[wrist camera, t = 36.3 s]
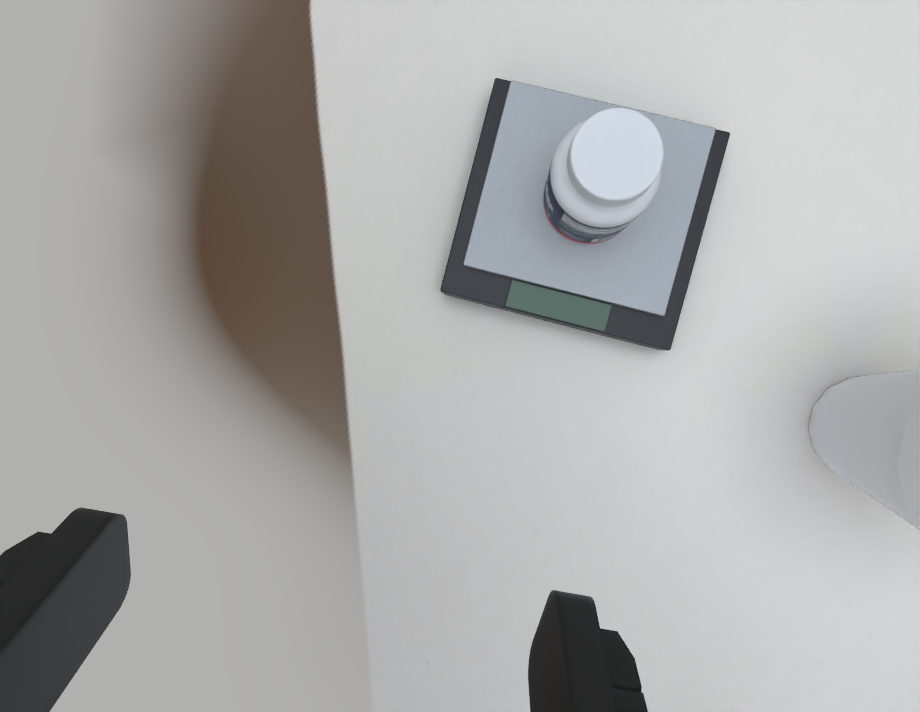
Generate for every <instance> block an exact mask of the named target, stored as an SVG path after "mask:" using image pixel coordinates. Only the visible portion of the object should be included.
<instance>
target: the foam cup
mask: <svg viewBox="0 0 920 712" xmlns="http://www.w3.org/2000/svg"><path fill="white" fill-rule="evenodd" d="M809 432H810V436H811V440H812V444H813V448H814V451H815V452H816V454H817V455H818V456H819V457H820V458H821V459H822V461H823V462H824V463H825V464H826V465H827V466H828V468H829V469H831V470H833V471H834V472H835V473H836V474H838V475H839V476H841V477H842V478H844V479H845V480H847V481H848V482H850V483H851V484H853V485H854V486H856V487H857V488H858V489H860V490H861V491H863V492H864V493H866V494H867V495H869V496H870V497H872V498H873V499H875V500H876V501H878V502H879V503H881V504H882V505H884V506H885V507H887V508H888V509H890V510H891V511H893V512H894V513H896V514H897V515H899V516H900V517H902V518H903V519H905V520H906V521H907V522H909V523H910V524H912V525H913V526H915V527H916V528H918V529H919V530H920V370H911V371H902V372H893V373H884V374H875V375H866V376H857V377H854V378H848V379H846V380H844V381H842V382H840V383H838V384H836V385H834V386H831V387H829V388H828V389H827V390H826V391H825V393H824V394H823V395H822V396H821V398H820V399H819V400H818V401H817V403H816V404H815V405H814V407H813V411H812V416H811V420H810V425H809Z"/></svg>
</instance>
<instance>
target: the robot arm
mask: <svg viewBox="0 0 920 712" xmlns="http://www.w3.org/2000/svg"><path fill="white" fill-rule="evenodd" d="M130 576H131V571H130V557H129V544H128V530H127V521H126V518H125V517H124V515H121V514H115V513H109V512H104V511H98V510H92V509H86V508H78V509H76V510H74V511H73V512H72V513H71V514H70V515H69V516H68V517H67V518H66V519H65V520H64V521H63V522H62V523H61V524H60V525H59V526H58V527H57V529H55V531H54V532H53V533H52V534H49V533H42V532H37V533H35V534H34V535H32V536H30V537H28V538H27V539H25V540H23V541H21V542H20V543H18V544H16V545H15V546H13V547H11V548H10V549H8V550H6V551H5V552H4V553H3V554H2V555H1V556H0V712H50V710H51V709H52V707H53V706H54V704H55V703H56V701H57V700H58V698H59V697H60V695H61V694H62V692H63V691H64V689H65V688H66V687H67V685H68V684H69V682H70V681H71V679H72V678H73V676H74V675H75V673H76V672H77V670H78V669H79V667H80V666H81V664H82V663H83V662H84V660H85V659H86V657H87V656H88V654H89V653H90V651H91V650H92V648H93V647H94V645H95V644H96V642H97V641H98V640H99V638H100V637H101V635H102V634H103V632H104V631H105V629H106V628H107V626H108V625H109V623H110V622H111V620H112V619H113V618H114V616H115V614H116V613H117V612H118V610H119V609H120V607H121V605H122V603H123V601H124V599H125V596H126V594H127V591H128V587H129V583H130ZM528 681H529V696H530V711H531V712H648V711H647V707H646V703H645V699H644V695H643V693H641V688H642V687H641V683H640V679H639V675H638V671H637V667H636V663H635V659H634V657H633V655H632V654H631V652H630V651H629V649H628V648H627V646H626V644H625V643H624V641H623V640H622V638H621V637H620V635H619V633H618V632H617V631H611V630H605V629H600V627H599V622H598V617H597V612H596V607H595V603H594V600H593V598H592V597H590V596H584V595H578V594H572V593H566V592H561V591H555V590H553V591H551V593H550V594H549V597H548V599H547V602H546V605H545V608H544V611H543V614H542V616H541V619H540V622H539V625H538V628H537V631H536V633H535V636H534V639H533V642H532V646H531V650H530V656H529V667H528Z"/></svg>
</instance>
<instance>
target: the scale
mask: <svg viewBox="0 0 920 712" xmlns="http://www.w3.org/2000/svg"><path fill="white" fill-rule="evenodd" d="M610 108H627V107H623V106H618V105H614V104H610V103H606V102H601V101H597V100H593V99H588V98H584V97H580V96H576V95H571V94H567V93H563V92H558V91H554V90H550V89H546V88H541V87H537V86H533V85H529V84H524V83H520V82H516V81H507V80H502V79H498V78H496V79H495V81H494V85H493V89H492V93H491V96H490V100H489V104H488V108H487V112H486V116H485V120H484V123H483V127H482V131H481V135H480V139H479V143H478V147H477V150H476V154H475V158H474V162H473V166H472V170H471V174H470V177H469V181H468V185H467V189H466V193H465V197H464V201H463V205H462V208H461V212H460V216H459V220H458V224H457V228H456V232H455V235H454V239H453V243H452V247H451V251H450V255H449V259H448V262H447V266H446V270H445V274H444V278H443V282H442V286H441V292H442V293H444V294H445V295H449V296H453V297H456V298H460V299H464V300H468V301H472V302H476V303H480V304H484V305H487V306H491V307H495V308H499V309H503V310H507V311H511V312H514V313H518V314H522V315H526V316H530V317H534V318H538V319H542V320H545V321H549V322H553V323H557V324H561V325H565V326H569V327H573V328H576V329H580V330H584V331H588V332H592V333H596V334H600V335H604V336H607V337H611V338H615V339H619V340H623V341H627V342H631V343H635V344H638V345H642V346H646V347H650V348H654V349H658V350H670V349H671V345H672V342H673V338H674V334H675V331H676V327H677V324H678V320H679V316H680V313H681V309H682V306H683V302H684V298H685V295H686V291H687V287H688V284H689V280H690V277H691V273H692V269H693V266H694V262H695V259H696V255H697V251H698V248H699V244H700V241H701V237H702V233H703V230H704V226H705V222H706V219H707V215H708V212H709V208H710V204H711V201H712V197H713V194H714V190H715V186H716V183H717V179H718V175H719V172H720V168H721V165H722V161H723V157H724V154H725V150H726V147H727V143H728V139H729V136H730V133H729V132H725V131H721V130H716V128H713V127H708V126H704V125H700V124H695V123H691V122H687V121H683V120H678V119H674V118H670V117H665V116H661V115H657V114H653V113H648V112H644V111H640V110H636V109H631V108H627V109H631V110H634V111H637V112H639V113H641V114H642V115H644V116H645V117H647V118H648V119H649V120H650V121H651V122H652V123H653V124H654V125H655V127H656V128H657V130H658V132H659V134H660V136H661V139H662V143H663V150H664V156H663V163H662V167H661V177H660V183H659V186H658V189H657V192H656V194H655V196H654V198H653V200H652V201H651V203H650V204H649V205H648V207H647V208H646V209H645V210H644V211H643V212H642V213H641V214H640V215H639V216H638V217H637V218H636V219H635V220H634V221H633V222H631V223H630V224H629V225H628V226H627V227H626V228H625V229H624V230H622V231H621V232H620V233H619V234H617V235H616V236H615V237H613V238H611V239H609V240H607V241H605V242H602V243H598V244H589V245H586V244H578V243H575V242H572V241H569V240H567V239H566V238H564V237H562V236H561V235H560V234H558V233H557V232H556V231H555V230H554V229H553V227H552V226H551V225H550V223H549V221H548V219H547V217H546V215H545V211H544V207H543V192H544V187H545V183H546V180H547V177H548V173H549V169H550V166H551V162H552V158H553V155H554V153H555V150H556V148H557V146H558V145H559V143H560V141H561V140H562V139H563V137H564V136H565V135H566V134H567V133H568V132H569V131H570V130H571V129H572V128H573V127H575V126H576V125H578V124H579V123H581V122H583V121H585V120H587V119H588V118H590V117H591V116H592V115H594V114H596V113H598V112H600V111H603V110H606V109H610Z"/></svg>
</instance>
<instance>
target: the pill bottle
mask: <svg viewBox="0 0 920 712" xmlns="http://www.w3.org/2000/svg"><path fill="white" fill-rule="evenodd" d="M663 156H664V150H663V143H662V139H661V136H660V134H659V132H658V130H657V128H656V127H655V125H654V124H653V123H652V122H651V121H650V120H649V119H648V118H647V117H645V116H644V115H642V114H641V113H639V112H637V111H634V110H631V109H627V108H610V109H606V110H603V111H600V112H598V113H596V114H594V115H592V116H591V117H590V118H588V119H587V120H585V121H583V122H581V123H579V124H578V125H576V126H575V127H573V128H572V129H571V130H570V131H569V132H568V133H567V134H566V135H565V136H564V137H563V139H562V140H561V141H560V143H559V145H558V146H557V148H556V150H555V153H554V155H553V158H552V162H551V166H550V169H549V173H548V177H547V180H546V183H545V187H544V192H543V207H544V211H545V215H546V217H547V219H548V221H549V223H550V225H551V226H552V227H553V229H554V230H555V231H556V232H557V233H558V234H560V235H561V236H562V237H564V238H566V239H567V240H569V241H572V242H575V243H578V244H586V245H589V244H598V243H602V242H605V241H607V240H609V239H611V238H613V237H615V236H616V235H617V234H619V233H620V232H621V231H622V230H624V229H625V228H626V227H627V226H628V225H629V224H630V223H631V222H633V221H634V220H635V219H636V218H637V217H638V216H639V215H640V214H641V213H642V212H643V211H644V210H645V209H646V208H647V207H648V205H649V204H650V203H651V201H652V200H653V198H654V196H655V194H656V192H657V189H658V186H659V183H660V177H661V167H662V163H663Z"/></svg>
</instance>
